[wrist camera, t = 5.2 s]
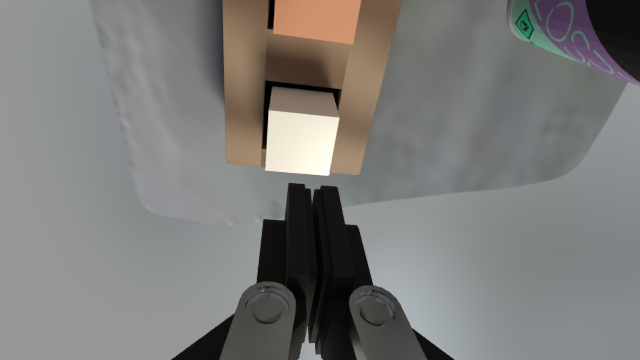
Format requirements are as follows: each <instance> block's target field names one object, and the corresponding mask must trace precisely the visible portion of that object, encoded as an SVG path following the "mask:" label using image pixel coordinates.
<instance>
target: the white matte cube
mask: <svg viewBox="0 0 640 360" xmlns="http://www.w3.org/2000/svg"><path fill="white" fill-rule="evenodd" d="M338 123H339V114H338V111H337V107H336V103H335V100H334V96H333V93H328V92H319V91H310V90H302V89H293V88H284V87H276V86H273V87H272V93H271V100H270V106H269V116H268V133H267V150H266V168H265V170H266V171H278V172H291V173H303V174H315V175H327V176H329V171H330V166H331V160H332V155H333V149H334V144H335V139H336V133H337V128H338Z"/></svg>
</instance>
